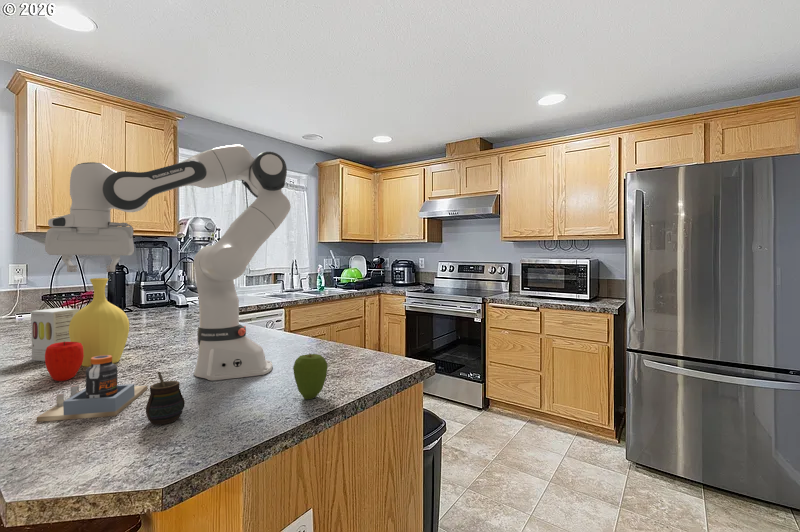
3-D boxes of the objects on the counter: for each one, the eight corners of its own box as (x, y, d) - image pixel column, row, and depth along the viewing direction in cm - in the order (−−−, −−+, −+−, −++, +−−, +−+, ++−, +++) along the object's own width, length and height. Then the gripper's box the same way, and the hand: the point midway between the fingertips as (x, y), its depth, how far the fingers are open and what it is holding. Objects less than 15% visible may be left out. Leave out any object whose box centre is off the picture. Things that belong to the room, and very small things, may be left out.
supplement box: (30, 360, 135) (29, 311, 135) (58, 353, 144) (57, 307, 144) (54, 361, 134) (53, 311, 133) (80, 355, 143) (79, 308, 142)
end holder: (134, 395, 99) (134, 383, 99) (115, 411, 89) (115, 398, 89) (88, 399, 97) (87, 386, 97) (63, 415, 87) (63, 401, 87)
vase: (106, 369, 125) (104, 280, 124) (55, 369, 125) (53, 280, 124) (140, 356, 141) (139, 277, 140) (95, 356, 141) (94, 277, 140)
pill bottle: (101, 410, 90) (100, 360, 89) (79, 408, 91) (78, 359, 90) (124, 401, 96) (123, 354, 95) (103, 399, 97) (102, 352, 96)
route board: (147, 389, 107) (147, 385, 107) (115, 415, 89) (115, 410, 89) (82, 393, 104) (82, 389, 104) (36, 421, 86) (36, 416, 86)
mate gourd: (156, 430, 82) (155, 382, 82) (138, 422, 86) (137, 376, 86) (191, 418, 88) (190, 373, 88) (172, 411, 92) (171, 368, 92)
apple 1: (91, 376, 118) (91, 339, 118) (58, 385, 110) (57, 346, 110) (71, 373, 121) (70, 337, 121) (37, 381, 113) (36, 343, 113)
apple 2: (315, 406, 95) (315, 358, 95) (285, 401, 98) (285, 355, 98) (333, 394, 103) (333, 350, 103) (305, 390, 106) (305, 347, 106)
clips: (96, 393, 101) (96, 383, 101) (78, 405, 93) (78, 394, 93) (73, 395, 99) (73, 385, 99) (52, 407, 91) (52, 396, 91)
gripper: (137, 223, 116) (138, 271, 116) (55, 222, 111) (56, 271, 112) (128, 221, 110) (128, 272, 110) (40, 220, 105) (41, 272, 106)
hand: (91, 271), depth 111 cm, fingers open, 8 cm apart
